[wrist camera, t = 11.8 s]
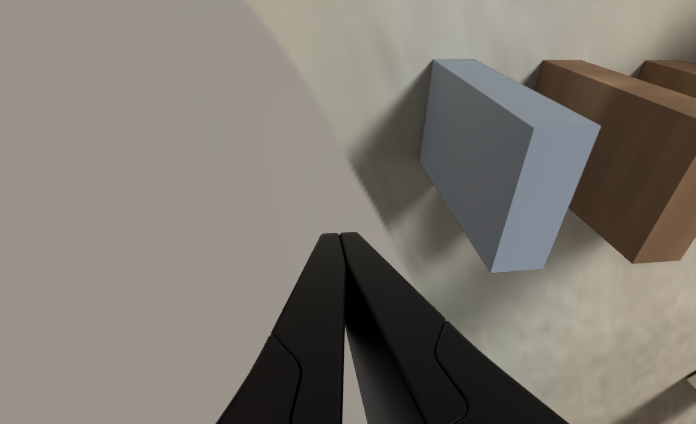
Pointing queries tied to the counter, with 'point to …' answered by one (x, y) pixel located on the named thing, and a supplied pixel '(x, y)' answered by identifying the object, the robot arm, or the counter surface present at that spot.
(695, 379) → the skincare box
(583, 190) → the domino
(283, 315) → the robot arm
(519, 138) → the domino
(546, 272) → the counter surface
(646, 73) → the domino
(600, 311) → the counter surface
